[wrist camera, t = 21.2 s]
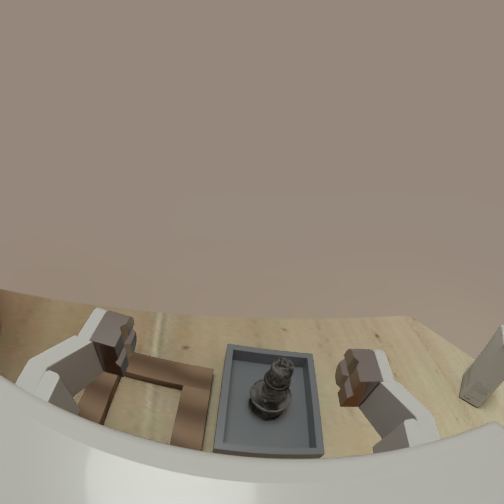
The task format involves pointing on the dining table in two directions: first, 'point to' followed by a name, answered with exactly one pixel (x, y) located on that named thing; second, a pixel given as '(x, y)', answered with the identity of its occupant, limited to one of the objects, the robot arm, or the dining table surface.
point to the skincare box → (485, 371)
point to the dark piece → (272, 391)
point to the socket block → (166, 374)
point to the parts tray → (275, 431)
